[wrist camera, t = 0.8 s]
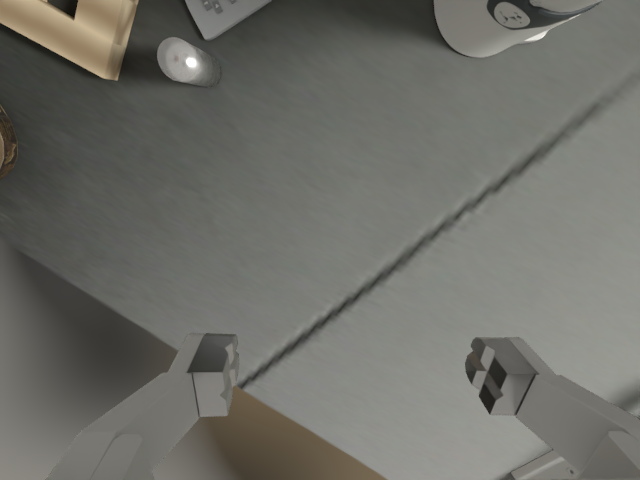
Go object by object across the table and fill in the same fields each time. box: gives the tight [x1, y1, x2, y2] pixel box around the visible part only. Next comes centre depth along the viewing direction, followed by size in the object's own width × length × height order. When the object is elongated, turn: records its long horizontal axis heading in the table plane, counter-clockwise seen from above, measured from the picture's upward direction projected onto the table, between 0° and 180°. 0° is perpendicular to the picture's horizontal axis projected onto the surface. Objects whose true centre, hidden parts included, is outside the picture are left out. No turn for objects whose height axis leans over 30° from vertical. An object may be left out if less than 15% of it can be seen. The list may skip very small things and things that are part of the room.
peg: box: [157, 37, 221, 87], centre depth 36 cm, size 4×4×10 cm
